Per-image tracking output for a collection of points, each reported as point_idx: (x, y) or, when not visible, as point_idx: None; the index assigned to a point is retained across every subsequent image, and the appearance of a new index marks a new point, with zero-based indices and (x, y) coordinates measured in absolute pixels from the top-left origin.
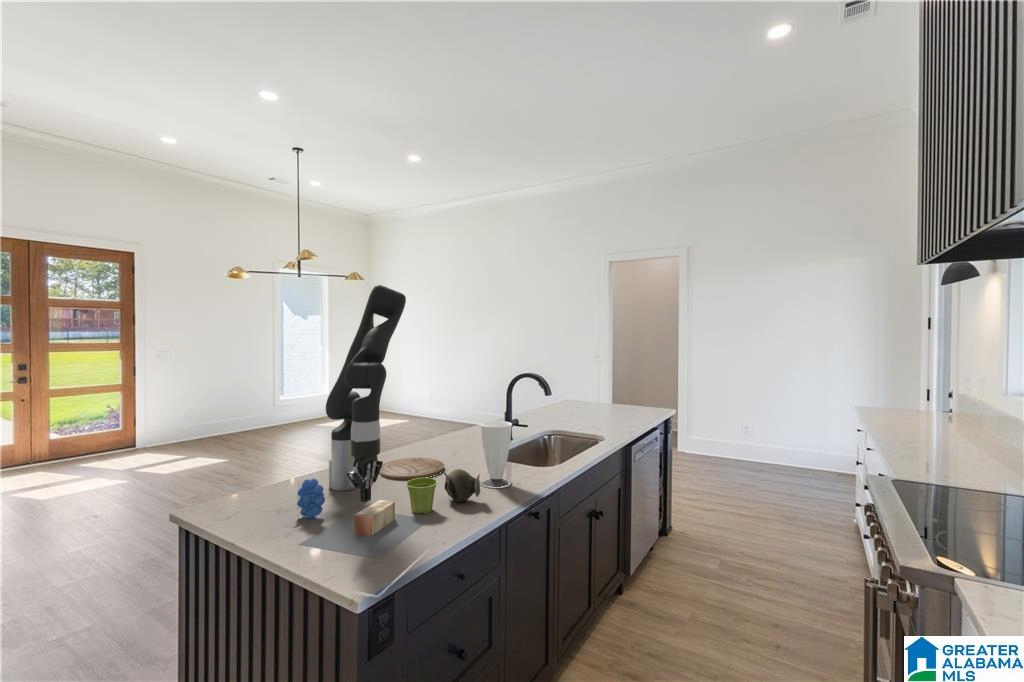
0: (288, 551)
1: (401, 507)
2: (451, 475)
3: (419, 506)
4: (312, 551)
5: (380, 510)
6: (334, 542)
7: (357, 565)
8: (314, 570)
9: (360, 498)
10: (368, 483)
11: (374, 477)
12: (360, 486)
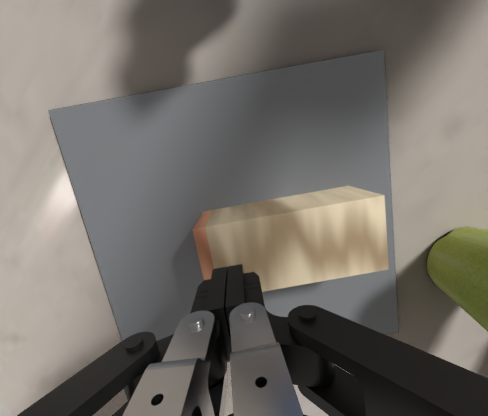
0: (15, 113)
1: (461, 179)
2: None
3: (445, 289)
4: (63, 182)
5: (285, 284)
6: (128, 205)
7: (89, 345)
8: (5, 277)
9: (198, 288)
10: (222, 397)
11: (316, 404)
12: (121, 413)
